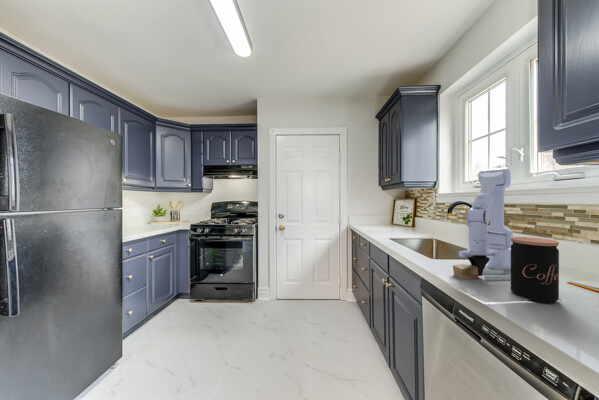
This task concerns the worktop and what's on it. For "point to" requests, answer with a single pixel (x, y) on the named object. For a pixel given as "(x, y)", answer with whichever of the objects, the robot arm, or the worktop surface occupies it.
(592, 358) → the worktop surface
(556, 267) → the coffee jar
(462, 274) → the walnut block
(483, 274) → the acrylic channel
